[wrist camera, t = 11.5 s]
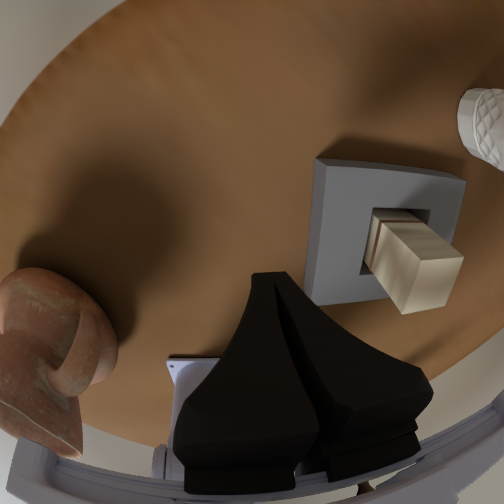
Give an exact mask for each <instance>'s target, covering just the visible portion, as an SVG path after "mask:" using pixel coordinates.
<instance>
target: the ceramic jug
mask: <svg viewBox="0 0 504 504" xmlns="http://www.w3.org/2000/svg"><path fill="white" fill-rule="evenodd" d="M0 330H1V333H2V335H0V428H1V429H2V430H3V431H5V432H6V433H8V434H9V435H11V436H13V437H14V438H16V439H18V438H19V436H23V437H25V438H28V439H30V440H33V441H35V442H37V443H40V444H42V445H44V446H46V447H48V448H49V449H51V450H52V451H54V452H55V453H56V454H57V455H58V456H61V457H64V458H68V459H73V458H76V459H77V458H80V457H82V454H83V453H82V452H83V435H82V434H83V433H82V422H81V415H80V407H79V400H78V395H79V394H81V393H82V392H83V391H85V390H86V389H87V387H88V386H89V385H92V384H95V383H98V382H100V381H102V380H104V379H105V378H106V377H108V376H109V374H110V373H111V372H112V371H113V369H114V368H115V366H116V363H117V358H118V344H117V338H116V335H115V332H114V329H113V327H112V325H111V323H110V321H109V319H108V318H107V316H106V315H105V313H104V312H103V310H102V309H101V307H100V306H99V305H98V304H97V303H96V302H95V300H94V299H93V298H92V297H91V296H90V295H89V294H88V293H86V292H85V291H84V290H83V289H82V288H80V287H79V286H78V285H76V284H75V283H73V282H72V281H70V280H69V279H67V278H65V277H64V276H62V275H60V274H58V273H55V272H53V271H50V270H47V269H43V268H37V267H27V268H22V269H18V270H16V271H14V272H12V273H10V274H9V275H7V276H6V277H5V278H4V279H3V281H2V282H1V284H0Z"/></svg>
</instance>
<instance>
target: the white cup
mask: <svg viewBox="0 0 504 504" xmlns="http://www.w3.org/2000/svg"><path fill="white" fill-rule="evenodd" d="M457 120H458V131H459V134H460V137H461V140H462V143H463V145H464V146H465V148H466V149H467V150H468V151H469V152H470V154H471V155H473V156H476V157H478V158H480V159H482V160H484V161H486V162H489V163H490V164H492V165H493V166H494V167H496V168H498V169H499V170H501V171H503V172H504V89H483V88H474V89H470V90H467V91H466V92H465V94H464V95H463V96H462V98H461V99H460V103H459V107H458V112H457Z"/></svg>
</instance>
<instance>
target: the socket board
mask: <svg viewBox="0 0 504 504" xmlns="http://www.w3.org/2000/svg"><path fill="white" fill-rule="evenodd" d="M465 186H466V181H465V180H463V179H461V178H459V177H457V176H455V175H453V174H451V173H449V172H443V171H437V170H431V169H425V168H418V167H411V166H403V165H395V164H386V163H376V162H366V161H354V160H340V159H322V158H315V168H314V183H313V196H312V208H311V219H310V230H309V240H308V250H307V259H306V267H305V276H304V284H303V289H304V292H305V294H306V295H307V296H308V297H309V298H310V299H311V300H312V301H313V302H314V303H315V304H316V305H317V306H321V305H332V304H342V303H351V302H360V301H368V300H377V299H384V298H390V296H389V295H388V293H387V292H386V291H385V289H384V288H383V286H382V285H381V284H380V282H379V281H378V279H377V278H376V277H375V275H374V274H373V273H372V271H370V270H369V267H368V266H367V264H366V263H365V262H364V260H363V256H364V251H365V247H366V242H367V237H368V231H369V226H370V221H371V215H372V209H373V207H382V208H410V209H412V212H411V214H412V215H414V216H415V217H416V218H418V219H419V220H422V221H423V222H424V224H425V225H427V226H428V227H429V228H431V229H432V230H433V231H434V232H436V233H437V234H438V235H439V236H440V237H442V238H443V239H444V240H445V241H446V242H448V243H449V244H450V245H451V242H452V238H453V235H454V231H455V228H456V224H457V221H458V217H459V213H460V209H461V205H462V200H463V196H464V191H465Z"/></svg>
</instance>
